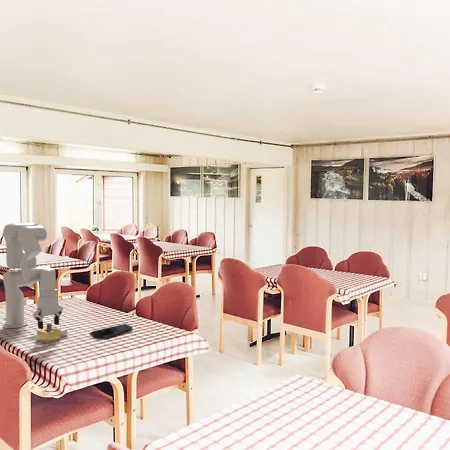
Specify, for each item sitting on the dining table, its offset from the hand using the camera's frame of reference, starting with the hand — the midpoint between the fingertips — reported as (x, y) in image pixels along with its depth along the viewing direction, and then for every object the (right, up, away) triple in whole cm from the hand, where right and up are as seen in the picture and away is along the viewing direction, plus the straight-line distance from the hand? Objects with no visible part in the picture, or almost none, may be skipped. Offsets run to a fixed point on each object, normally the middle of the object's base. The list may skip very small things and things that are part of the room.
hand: (48, 326), depth 245 cm
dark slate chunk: (+28, -8, +18) cm, 34 cm away
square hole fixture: (-1, -8, +4) cm, 9 cm away
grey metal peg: (0, -7, +1) cm, 7 cm away
